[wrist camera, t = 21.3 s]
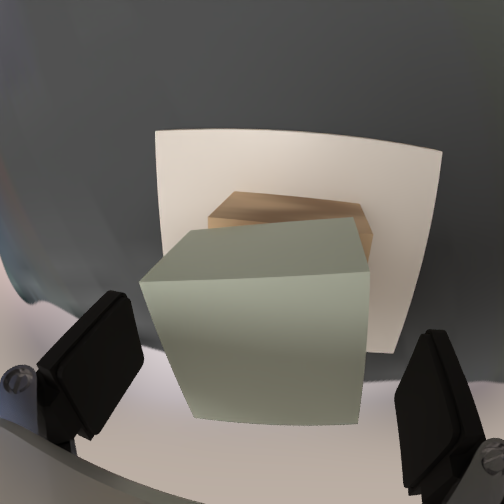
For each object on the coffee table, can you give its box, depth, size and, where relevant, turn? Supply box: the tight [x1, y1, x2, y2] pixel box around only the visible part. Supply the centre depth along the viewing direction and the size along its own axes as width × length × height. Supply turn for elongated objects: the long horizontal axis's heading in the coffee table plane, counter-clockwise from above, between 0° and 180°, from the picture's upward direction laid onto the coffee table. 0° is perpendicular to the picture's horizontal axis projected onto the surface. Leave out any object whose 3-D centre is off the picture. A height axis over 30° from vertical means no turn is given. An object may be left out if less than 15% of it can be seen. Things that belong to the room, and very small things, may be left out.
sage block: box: [139, 217, 370, 426], centre depth 11 cm, size 6×6×4 cm
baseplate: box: [155, 128, 442, 353], centre depth 16 cm, size 14×12×1 cm
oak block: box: [208, 191, 373, 263], centre depth 14 cm, size 6×6×4 cm
